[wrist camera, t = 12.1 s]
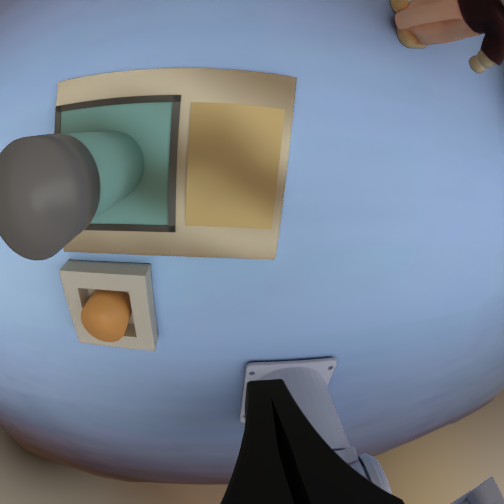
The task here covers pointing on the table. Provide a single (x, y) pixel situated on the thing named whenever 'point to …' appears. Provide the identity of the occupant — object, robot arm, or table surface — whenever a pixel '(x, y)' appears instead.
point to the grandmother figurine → (453, 26)
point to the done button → (107, 314)
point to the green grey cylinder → (62, 186)
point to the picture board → (189, 159)
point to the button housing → (115, 279)
